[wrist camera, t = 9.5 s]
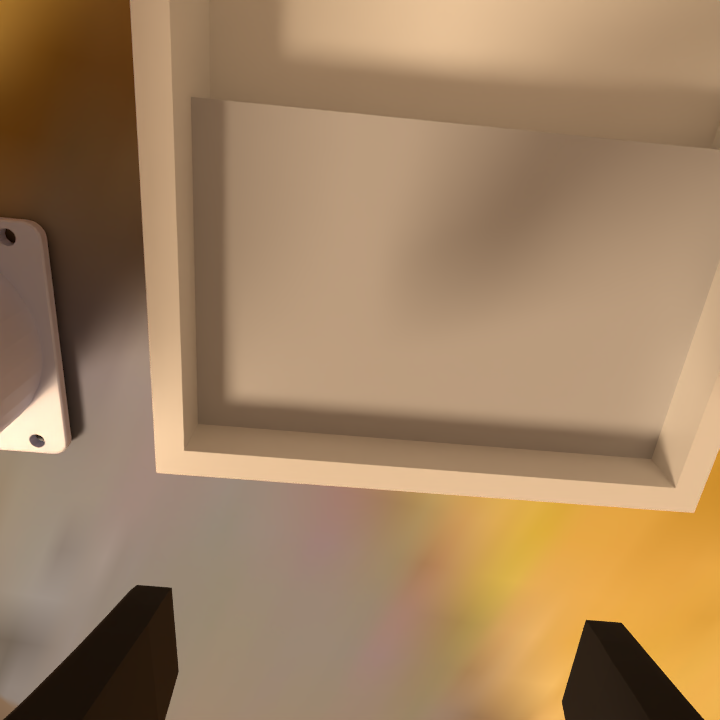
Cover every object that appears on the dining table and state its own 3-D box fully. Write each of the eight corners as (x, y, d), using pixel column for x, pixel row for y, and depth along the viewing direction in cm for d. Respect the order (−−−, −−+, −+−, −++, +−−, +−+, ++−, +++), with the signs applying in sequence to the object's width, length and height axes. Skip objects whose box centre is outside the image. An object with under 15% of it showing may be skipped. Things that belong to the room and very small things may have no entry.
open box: (193, 406, 20) (156, 472, 16) (179, -170, 14) (114, -271, 10) (634, 440, 21) (693, 512, 17) (807, -95, 14) (962, -166, 11)
